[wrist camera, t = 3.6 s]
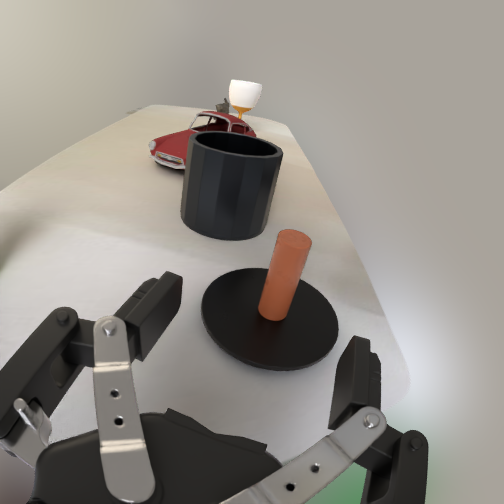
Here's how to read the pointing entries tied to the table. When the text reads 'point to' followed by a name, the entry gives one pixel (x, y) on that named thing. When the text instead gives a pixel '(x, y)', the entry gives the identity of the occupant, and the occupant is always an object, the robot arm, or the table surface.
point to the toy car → (175, 145)
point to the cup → (244, 95)
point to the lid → (271, 311)
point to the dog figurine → (223, 107)
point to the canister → (229, 184)
